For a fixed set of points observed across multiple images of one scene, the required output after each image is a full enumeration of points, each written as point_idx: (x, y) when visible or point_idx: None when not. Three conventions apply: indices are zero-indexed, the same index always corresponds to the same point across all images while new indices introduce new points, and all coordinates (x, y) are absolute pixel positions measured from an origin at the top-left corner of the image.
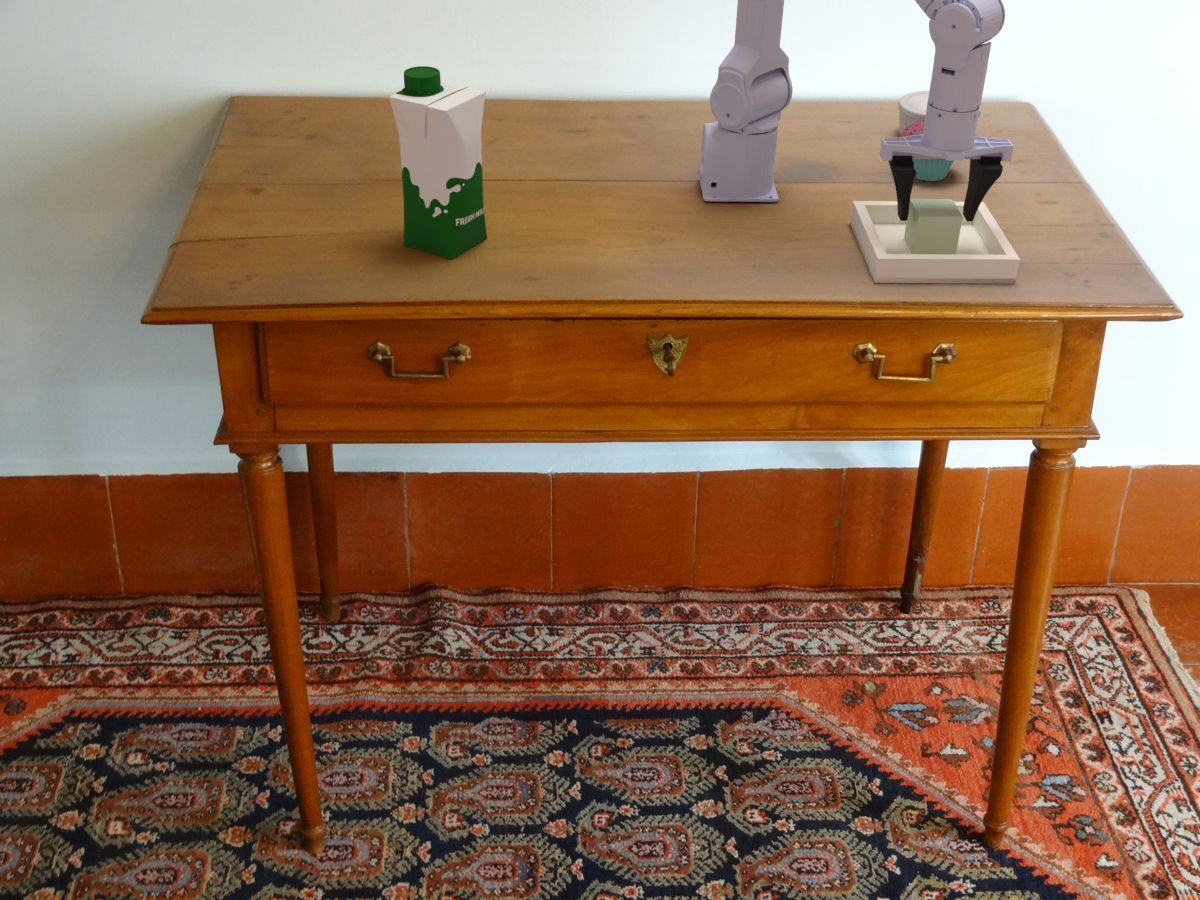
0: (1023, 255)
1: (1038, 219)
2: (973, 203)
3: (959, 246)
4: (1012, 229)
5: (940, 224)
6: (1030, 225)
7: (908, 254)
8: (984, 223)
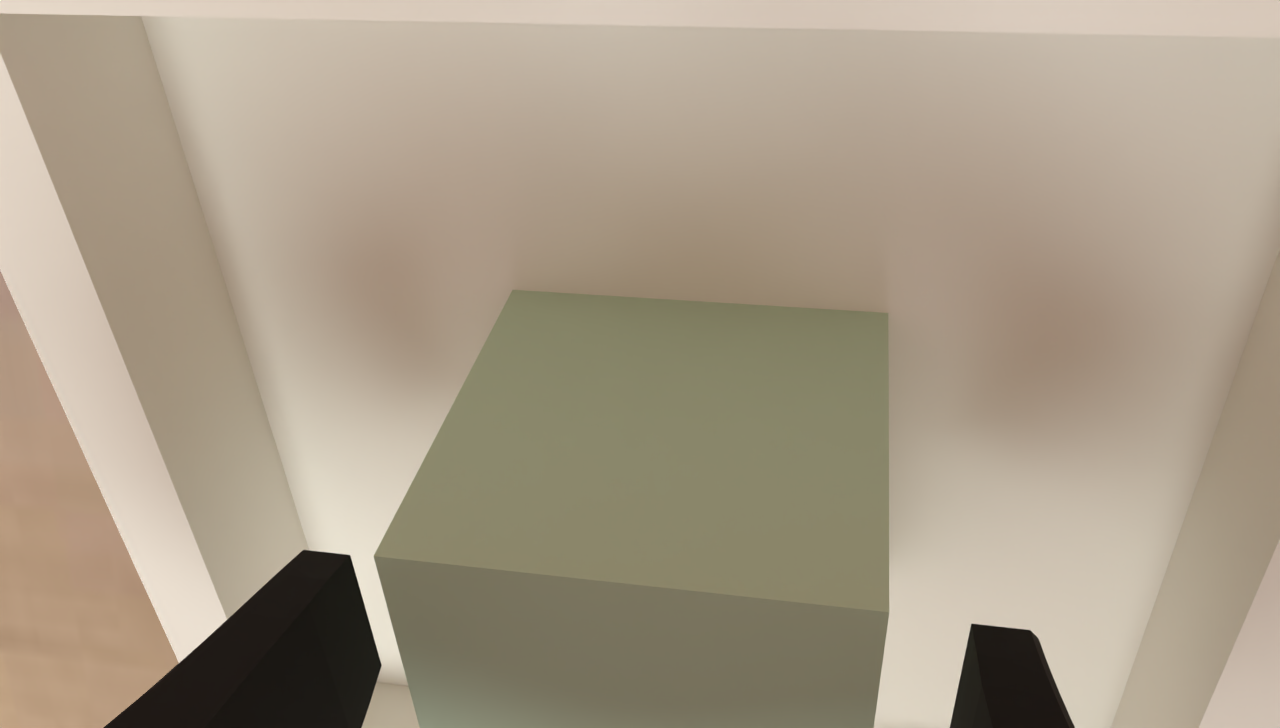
0: None
1: (16, 689)
2: (218, 698)
3: None
4: (135, 621)
5: (629, 511)
6: (46, 645)
7: (1165, 23)
8: None
